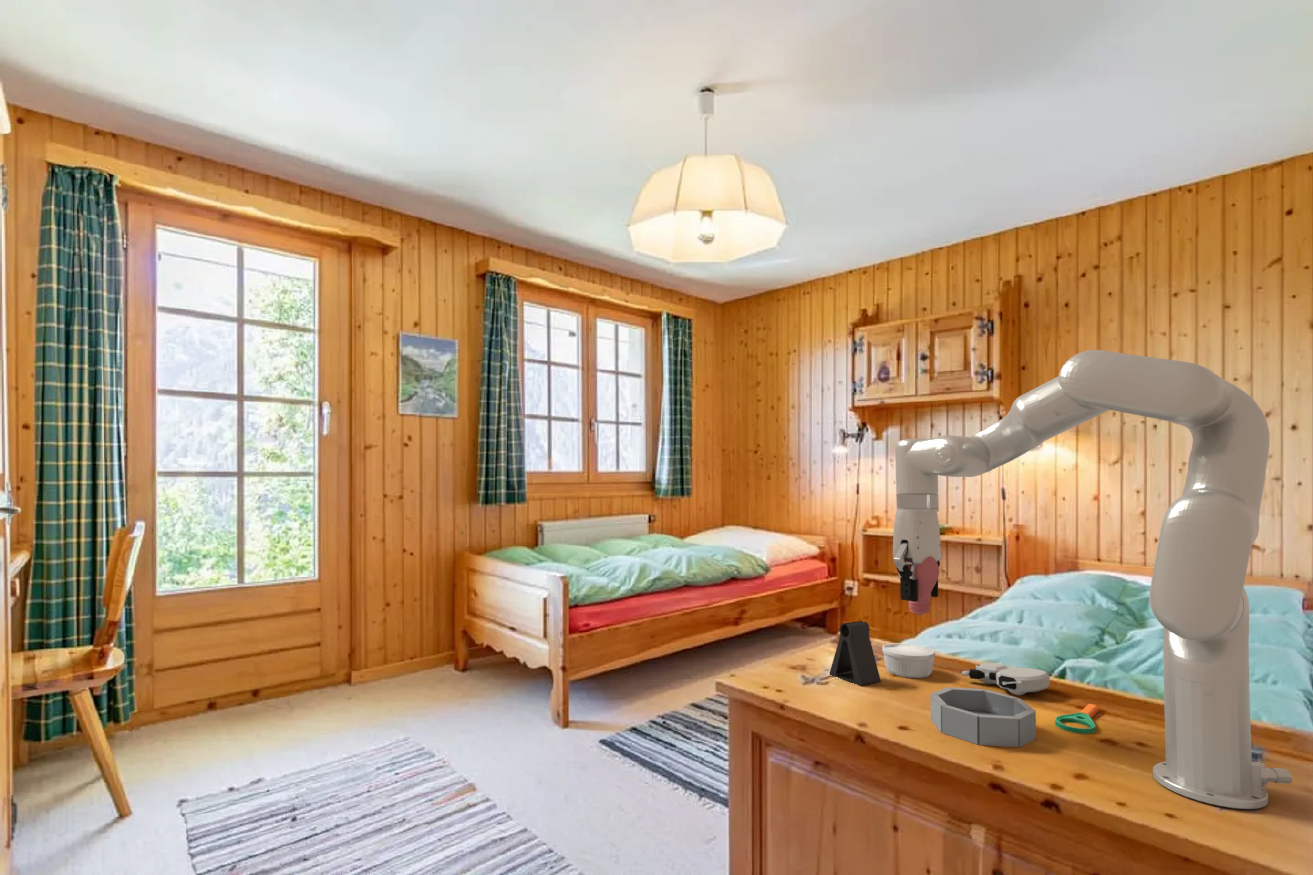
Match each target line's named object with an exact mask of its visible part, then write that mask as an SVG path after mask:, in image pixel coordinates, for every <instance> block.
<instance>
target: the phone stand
mask: <svg viewBox="0 0 1313 875" xmlns="http://www.w3.org/2000/svg"><path fill="white" fill-rule="evenodd" d="M870 629H871V628H870V625H869V623H868V622H867V621H863V620H858V621H853V622H846V623H845V622H843V623H842V624H840V626H839V639H838V642H837V646H836V649H835V654H834V656H833V660H832V663H831V666H830V670H829V676H830V675H832V676H831V677H833V676H835V677H834V678H836V677H838V678H837V679H839V678H840V679H839V680H841V679H842V681H845V682H848V683H850V684H853V683H854V684H853V685H855V684H857V685H856V686H858V685H859V687H863V685H864V686H867V684H868V685H871V683H873V684H877V683H881V676H880V672H879V668H878V665H877V660H876V657H875V654H874V649H873V646H872V642H871V638H870Z"/></svg>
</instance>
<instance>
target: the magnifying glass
mask: <svg viewBox="0 0 1313 875" xmlns="http://www.w3.org/2000/svg"><path fill="white" fill-rule="evenodd" d="M1099 711H1100V708H1099V706H1098V705H1097V704H1093V703H1088V704H1087V705H1086V706H1085V707H1084V708H1083V709H1082V710H1080V711H1079V712H1075V713H1069V714H1063V715H1057V716H1056V717H1055V719H1054V720H1055V722H1054V725H1055V726H1056V727H1057V728H1058V729H1061V730H1063V731H1066V732H1070V733H1074V734H1081V735H1085V734H1086V735H1089V734H1094V733H1095V732H1096V729H1097V727H1096V724H1095V721H1093V717H1094V716H1096V714H1097V713H1099ZM1064 723H1075V724H1079V725H1083V726H1086V727H1088V728H1086V727H1085V728H1080V727H1073V726H1069V725H1067V724H1064Z"/></svg>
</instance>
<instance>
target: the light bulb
mask: <svg viewBox="0 0 1313 875" xmlns="http://www.w3.org/2000/svg"><path fill="white" fill-rule="evenodd" d="M906 561H908V562H912V560H906ZM911 567H912V566H908V568H909V569H910V571H911ZM939 577H940V566H938V564H937V562H936V560H935V559H934V558H933V557H932V556H929V557H927V558H926V559H925V560H924V562H923V563H922V564H920V565H918V566H917V573H916V577H915V579H917V580H918V601H916V602H914V601H908V609H909V612H911V613H914V614H915V615H918V616H922V615H925V614H929V613H931V611H930V609H931V608H930V607H931V605H930V604H931V602H930V599H931V598H932V597H931V591H932V589H933V587H934V586H935V584H936V581H937V579H938V580H939Z"/></svg>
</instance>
